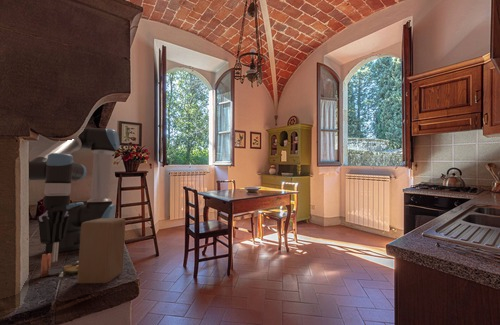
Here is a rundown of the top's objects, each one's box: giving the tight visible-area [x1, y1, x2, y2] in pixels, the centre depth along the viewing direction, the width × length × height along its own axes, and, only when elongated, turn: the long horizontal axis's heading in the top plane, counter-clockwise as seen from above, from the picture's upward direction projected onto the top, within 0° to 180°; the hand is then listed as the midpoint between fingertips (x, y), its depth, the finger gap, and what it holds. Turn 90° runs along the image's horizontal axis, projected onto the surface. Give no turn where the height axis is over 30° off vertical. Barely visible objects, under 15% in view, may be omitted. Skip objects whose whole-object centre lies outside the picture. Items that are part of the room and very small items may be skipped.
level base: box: [56, 271, 78, 279], centre depth 82 cm, size 9×9×2 cm
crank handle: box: [39, 253, 79, 278], centre depth 81 cm, size 13×7×7 cm, turn 121°
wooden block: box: [76, 217, 126, 284], centre depth 78 cm, size 10×10×20 cm
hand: (51, 261), depth 81 cm, fingers closed
